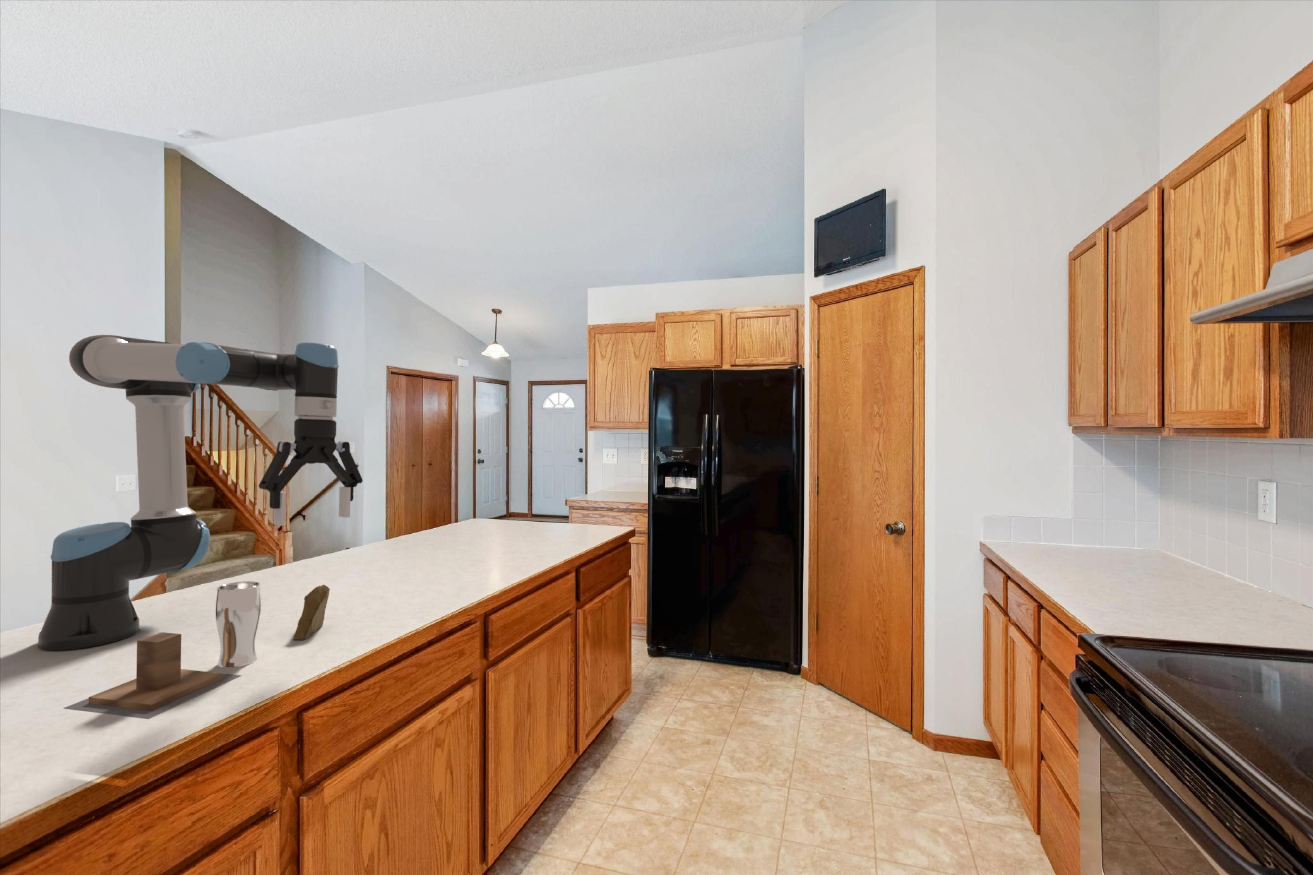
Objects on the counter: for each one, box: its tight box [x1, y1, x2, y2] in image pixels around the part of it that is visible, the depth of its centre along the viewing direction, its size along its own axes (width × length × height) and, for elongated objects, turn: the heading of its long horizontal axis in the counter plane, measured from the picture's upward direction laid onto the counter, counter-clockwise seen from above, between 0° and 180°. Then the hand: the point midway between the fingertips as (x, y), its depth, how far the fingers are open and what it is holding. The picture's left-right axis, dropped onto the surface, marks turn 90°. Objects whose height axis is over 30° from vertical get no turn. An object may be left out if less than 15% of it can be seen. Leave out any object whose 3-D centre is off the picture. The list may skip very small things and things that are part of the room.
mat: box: [64, 669, 242, 720], centre depth 96 cm, size 16×16×1 cm
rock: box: [292, 584, 330, 640], centre depth 127 cm, size 11×9×10 cm
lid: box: [88, 631, 222, 711], centre depth 96 cm, size 12×12×9 cm
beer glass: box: [215, 580, 262, 669], centre depth 109 cm, size 7×7×15 cm
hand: (313, 520), depth 119 cm, fingers open, 13 cm apart
